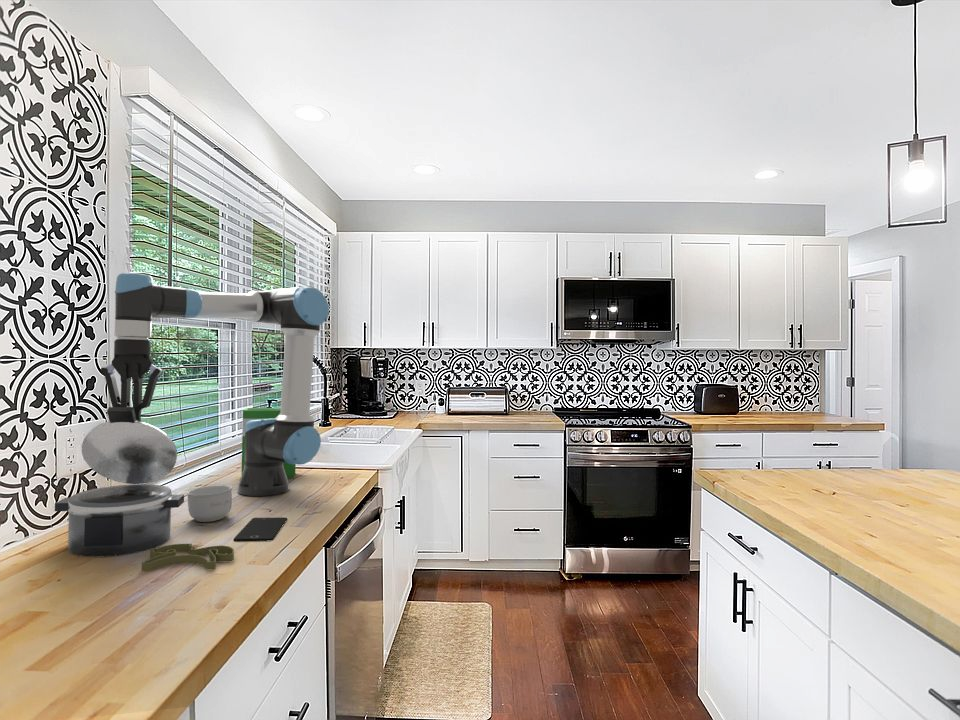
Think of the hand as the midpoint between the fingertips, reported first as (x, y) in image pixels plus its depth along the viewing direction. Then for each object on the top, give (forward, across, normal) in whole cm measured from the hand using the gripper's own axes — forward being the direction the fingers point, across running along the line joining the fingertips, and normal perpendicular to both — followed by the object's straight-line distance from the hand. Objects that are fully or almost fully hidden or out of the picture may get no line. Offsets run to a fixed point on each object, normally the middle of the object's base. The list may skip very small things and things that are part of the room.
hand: (130, 437), depth 138 cm
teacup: (+24, -16, -13) cm, 31 cm away
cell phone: (+24, -30, 0) cm, 38 cm away
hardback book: (+23, -24, -65) cm, 73 cm away
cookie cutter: (+24, -18, +20) cm, 36 cm away
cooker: (+23, 0, +5) cm, 24 cm away
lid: (+3, 0, +1) cm, 3 cm away
